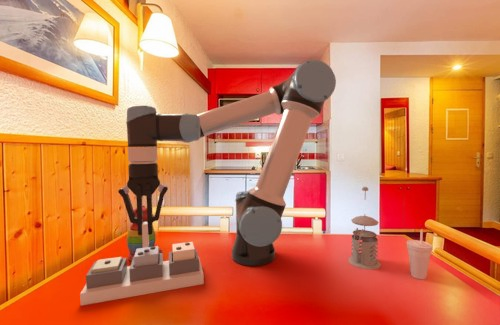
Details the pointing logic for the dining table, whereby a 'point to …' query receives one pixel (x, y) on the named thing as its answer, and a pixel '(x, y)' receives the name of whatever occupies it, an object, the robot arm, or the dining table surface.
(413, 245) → the smoothie
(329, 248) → the dining table surface
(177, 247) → the button two dot
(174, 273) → the button panel
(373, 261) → the french press
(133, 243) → the stacking bear
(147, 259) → the button three dot
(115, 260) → the button one dot
